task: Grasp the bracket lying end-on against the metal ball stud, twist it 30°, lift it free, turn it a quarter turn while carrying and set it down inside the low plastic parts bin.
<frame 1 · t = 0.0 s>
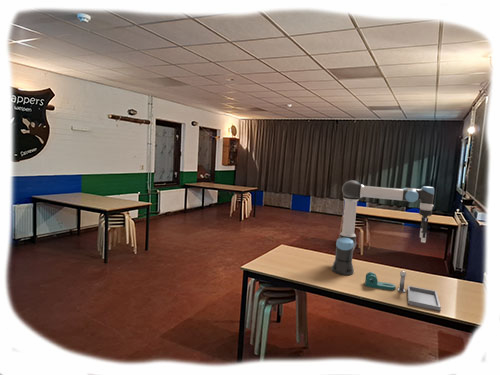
hand: (422, 239, 224), 28 cm above the table, fingers open, 13 cm apart
bin: (422, 299, 195), on the table
bracket: (380, 287, 211), on the table
ball stud: (401, 290, 206), on the table
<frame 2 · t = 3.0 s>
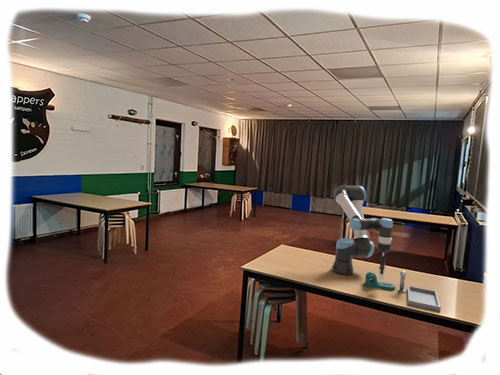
hand: (381, 275, 210), 8 cm above the table, fingers open, 13 cm apart
nothing on the table moved.
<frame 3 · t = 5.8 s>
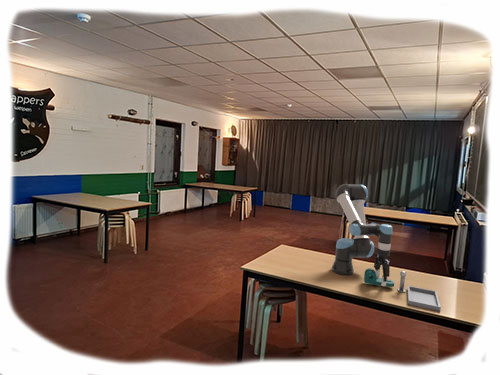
hand: (380, 282, 211), 2 cm above the table, fingers closed on bracket, 8 cm apart
bracket: (378, 283, 212), point 2 cm above the table, touching gripper
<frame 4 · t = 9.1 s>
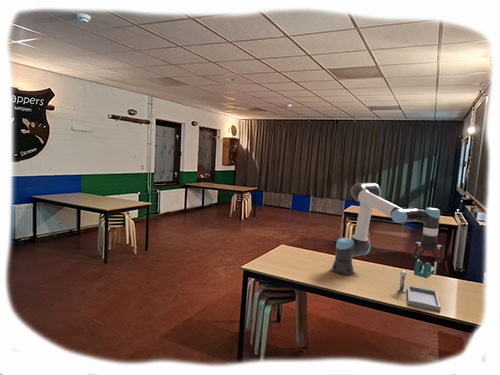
hand: (425, 272, 193), 17 cm above the table, fingers closed on bracket, 8 cm apart
bracket: (425, 273, 193), point 16 cm above the table, touching gripper
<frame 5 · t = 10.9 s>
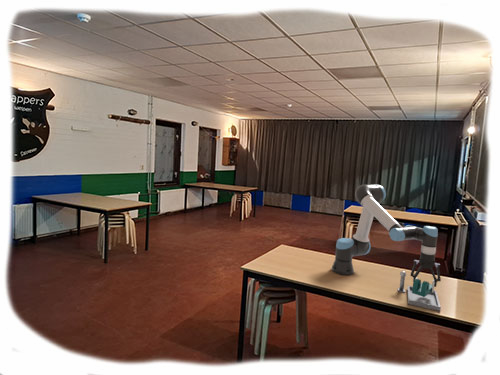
hand: (423, 289, 194), 6 cm above the table, fingers closed on bracket, 8 cm apart
bracket: (423, 291, 194), point 5 cm above the table, touching gripper
when the fingers open (3 cm above the table, at t = 12.5 s): bracket drops 2 cm, resting on bin.
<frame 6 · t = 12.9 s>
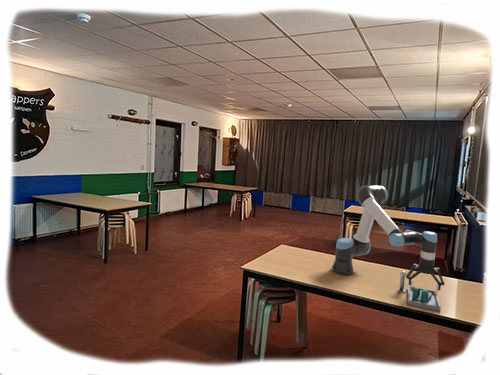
hand: (423, 292, 195), 4 cm above the table, fingers open, 13 cm apart
bracket: (422, 299, 195), resting on bin
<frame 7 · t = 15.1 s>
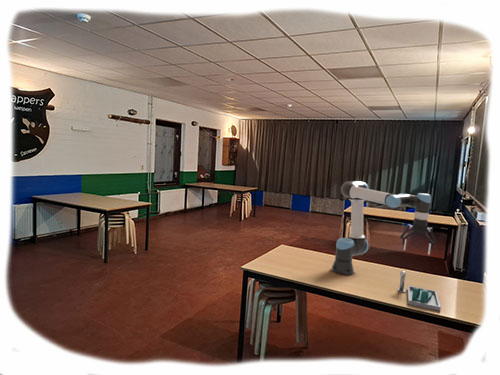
hand: (416, 252, 203), 26 cm above the table, fingers open, 13 cm apart
nothing on the table moved.
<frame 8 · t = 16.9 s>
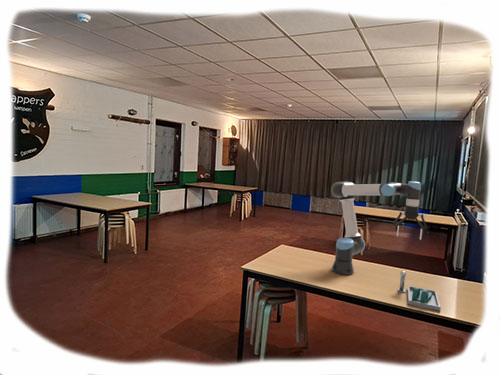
hand: (408, 237, 214), 32 cm above the table, fingers open, 13 cm apart
nothing on the table moved.
at the end: bracket inside the target area on the bin (0.4 cm from its centre), point 0.3 cm above the bin's base; bracket tilted 0°; the gripper is holding nothing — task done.
